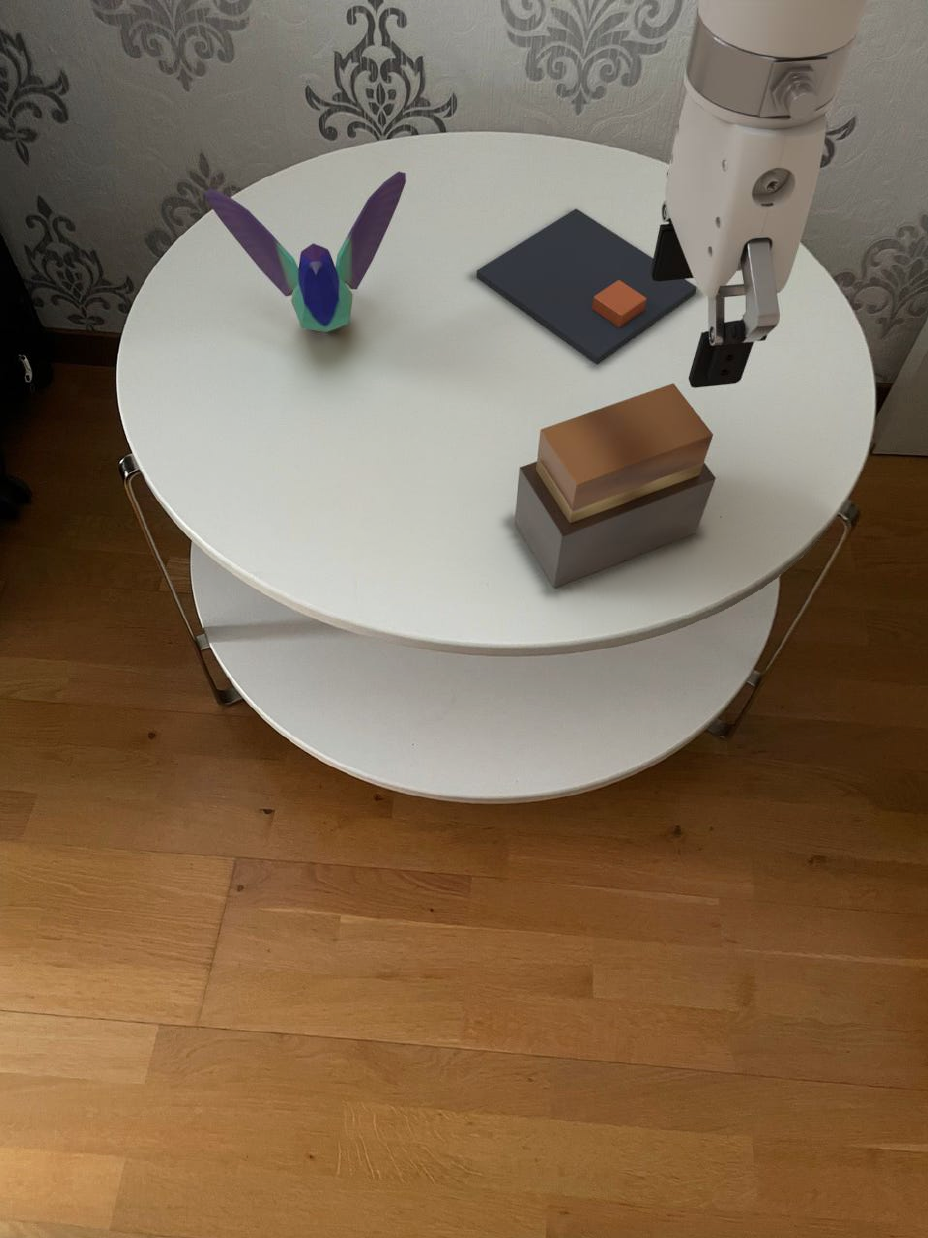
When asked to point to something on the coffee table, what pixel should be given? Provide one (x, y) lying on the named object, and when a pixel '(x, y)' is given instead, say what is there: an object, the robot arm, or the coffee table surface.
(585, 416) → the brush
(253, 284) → the coffee table surface
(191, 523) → the coffee table surface
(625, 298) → the orange square block
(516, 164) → the coffee table surface
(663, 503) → the stand
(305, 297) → the decorative sculpture
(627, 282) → the mat
